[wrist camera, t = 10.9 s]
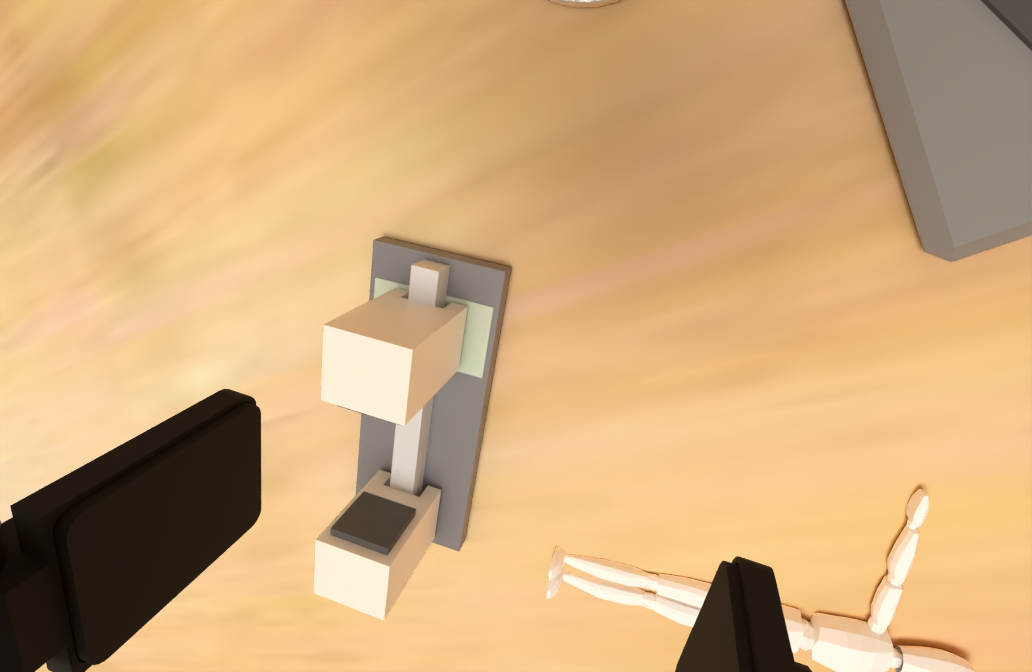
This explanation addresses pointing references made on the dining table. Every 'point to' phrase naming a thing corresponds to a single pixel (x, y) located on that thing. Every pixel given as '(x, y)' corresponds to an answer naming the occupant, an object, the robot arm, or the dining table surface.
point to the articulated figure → (830, 639)
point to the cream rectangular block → (391, 355)
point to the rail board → (449, 398)
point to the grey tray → (955, 114)
